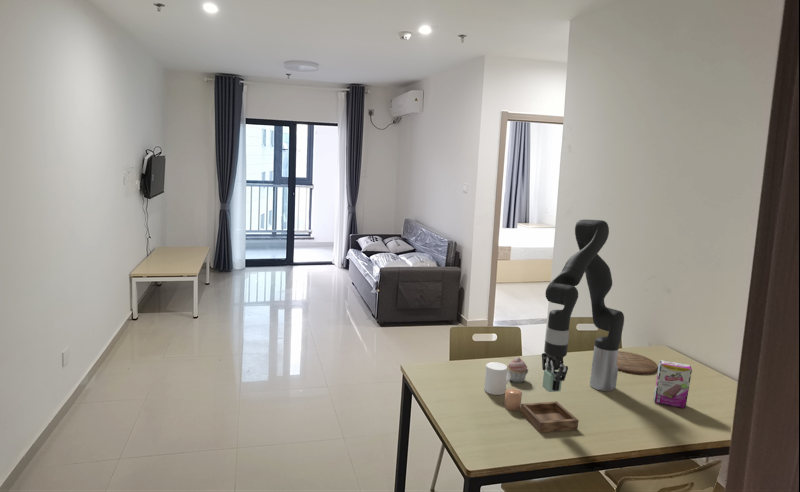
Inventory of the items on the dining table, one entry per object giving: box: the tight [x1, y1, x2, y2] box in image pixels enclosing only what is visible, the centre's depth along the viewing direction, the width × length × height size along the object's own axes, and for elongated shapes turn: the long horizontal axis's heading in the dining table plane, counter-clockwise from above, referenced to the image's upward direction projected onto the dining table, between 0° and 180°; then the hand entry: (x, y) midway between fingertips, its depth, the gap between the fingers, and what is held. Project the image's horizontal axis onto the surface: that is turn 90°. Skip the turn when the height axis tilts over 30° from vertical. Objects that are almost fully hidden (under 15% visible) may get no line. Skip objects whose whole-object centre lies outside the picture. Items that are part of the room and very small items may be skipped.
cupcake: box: [506, 356, 529, 384], centre depth 227 cm, size 9×9×10 cm
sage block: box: [541, 370, 563, 393], centre depth 190 cm, size 4×4×6 cm
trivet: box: [616, 350, 658, 375], centre depth 254 cm, size 25×25×2 cm
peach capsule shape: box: [503, 387, 523, 412], centre depth 202 cm, size 6×6×6 cm
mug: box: [483, 361, 511, 396], centre depth 216 cm, size 8×10×12 cm
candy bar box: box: [653, 359, 693, 409], centre depth 211 cm, size 11×5×16 cm, turn 71°
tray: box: [519, 401, 580, 434], centre depth 192 cm, size 14×14×4 cm
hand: (551, 387), depth 191 cm, fingers closed on sage block, 4 cm apart
